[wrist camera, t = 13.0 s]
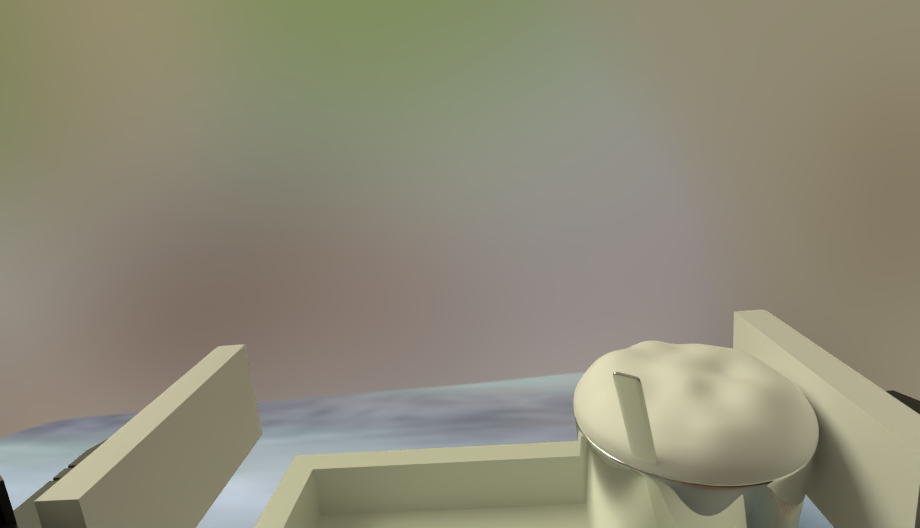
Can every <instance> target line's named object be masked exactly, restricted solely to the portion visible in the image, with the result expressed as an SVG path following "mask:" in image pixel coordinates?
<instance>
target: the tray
mask: <svg viewBox="0 0 920 528" xmlns="http://www.w3.org/2000/svg"><path fill="white" fill-rule="evenodd" d="M254 528H589V521H588V516H587V510H586V502H585V494H584V486H583V478H582V470H581V462H580V453H579V445H578V441H568V442H549V443H529V444H510V445H491V446H471V447H452V448H433V449H413V450H394V451H375V452H356V453H336V454H317V455H298V456H295V457H294V459H293V461H292V463H291V464H290V466H289V468H288V470H287V471H286V473H285V475H284V477H283V478H282V480H281V482H280V483H279V485H278V487H277V489H276V490H275V492H274V494H273V496H272V497H271V499H270V501H269V503H268V504H267V506H266V508H265V510H264V511H263V513H262V515H261V516H260V518H259V520H258V522H257V523H256V525H255V527H254Z"/></svg>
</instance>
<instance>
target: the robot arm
mask: <svg viewBox="0 0 920 528" xmlns="http://www.w3.org/2000/svg"><path fill="white" fill-rule="evenodd" d="M733 340H734V341H733V349H736V350H740V351H743V352H745V353H748V354H750V355H752V356H754V357H755V358H757V359H759V360H760V361H762V362H764V363H765V364H767V365H768V366H770V367H771V368H773V369H775V370H776V371H778V372H779V373H781V374H782V375H784V376H785V377H786V378H787V379H789V380H790V381H791V382H792V383H793V384H794V385H795V386H796V387H797V388H798V389H799V390H800V391H801V392H802V393H803V394H804V396H805V397H806V398H807V400H808V401H809V403H810V404H811V406H812V408H813V410H814V412H815V415H816V417H817V421H818V426H819V439H818V444H817V447H816V450H815V456H814V460H813V464H812V468H811V473H810V477H809V481H808V485H807V489H806V493H805V494H806V495H807V496H808V497H809V499H810V500H811V501H812V502H813V503H814V504H815V506H816V507H817V508H818V509H819V510H820V511H821V513H822V514H823V515H824V516H825V517H826V518H827V520H828V521H829V522H830V523H831V524H832V525H833V527H834V528H920V401H918V400H916V399H913V398H911V397H908V396H906V395H903V394H901V393H898V392H895V391H884V390H883V389H881V388H880V387H878V386H877V385H875V384H874V383H872V382H871V381H869V380H868V379H866V378H864V377H863V376H862V375H860V374H859V373H858V372H856V371H854V370H853V369H851V368H850V367H849V366H847V365H846V364H844V363H843V362H841V361H840V360H838V359H837V358H835V357H834V356H832V355H831V354H829V353H828V352H826V351H825V350H824V349H822V348H821V347H819V346H818V345H816V344H815V343H813V342H812V341H810V340H809V339H807V338H806V337H804V336H803V335H801V334H800V333H798V332H797V331H795V330H794V329H793V328H791V327H790V326H788V325H787V324H785V323H784V322H782V321H781V320H779V319H778V318H776V317H775V316H773V315H772V314H770V313H769V312H767V311H766V310H750V311H735V312H734V339H733ZM261 435H262V430H261V425H260V420H259V415H258V409H257V404H256V399H255V393H254V388H253V383H252V378H251V372H250V367H249V362H248V357H247V351H246V346H245V345H231V346H218V347H217V348H216V349H215V350H213V351H212V352H211V353H210V354H209V355H207V356H206V357H205V358H204V359H203V360H201V361H200V362H199V363H198V364H197V365H196V366H194V367H193V368H192V369H191V370H190V371H188V372H187V373H186V374H185V375H184V376H182V377H181V378H180V379H179V380H178V381H176V382H175V383H174V384H173V385H172V386H171V387H169V388H168V389H167V390H166V391H165V392H164V393H162V394H161V395H160V396H159V397H157V398H156V399H155V400H154V401H153V402H151V403H150V404H149V405H148V406H147V407H146V408H144V409H143V410H142V411H141V412H140V413H138V414H137V415H136V416H135V417H134V418H132V419H131V420H130V421H129V422H128V423H127V424H125V425H124V426H123V427H122V428H121V429H119V430H118V431H117V432H116V433H115V434H113V435H112V436H111V437H110V438H109V439H107V440H105V441H103V442H101V443H100V444H98V445H96V446H94V447H92V448H91V449H89V450H87V451H86V452H84V453H83V454H82V455H81V456H79V457H78V458H77V459H76V460H75V461H73V462H72V463H71V464H70V465H69V466H68V468H67V469H64V470H63V471H61V472H60V473H59V474H58V475H56V476H55V477H54V478H53V481H49V482H48V483H47V484H46V485H44V486H43V487H42V488H41V489H39V490H38V491H37V492H36V493H35V494H33V495H32V496H31V497H30V498H29V499H27V500H26V501H25V502H24V503H23V504H21V505H20V506H19V507H18V508H16V509H15V510H14V511H13V509H12V506H11V503H10V500H9V497H8V493H7V490H6V487H5V484H4V481H3V479H2V477H1V476H0V528H196V526H197V525H198V523H199V522H200V521H201V519H202V518H203V516H204V515H205V514H206V512H207V511H208V509H209V508H210V507H211V505H212V504H213V502H214V501H215V500H216V498H217V497H218V495H219V494H220V493H221V491H222V490H223V488H224V487H225V486H226V484H227V483H228V481H229V480H230V479H231V477H232V476H233V474H234V473H235V472H236V470H237V469H238V467H239V466H240V465H241V463H242V462H243V460H244V459H245V458H246V456H247V455H248V453H249V452H250V451H251V449H252V448H253V446H254V445H255V444H256V442H257V441H258V439H259V438H260V437H261Z"/></svg>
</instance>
